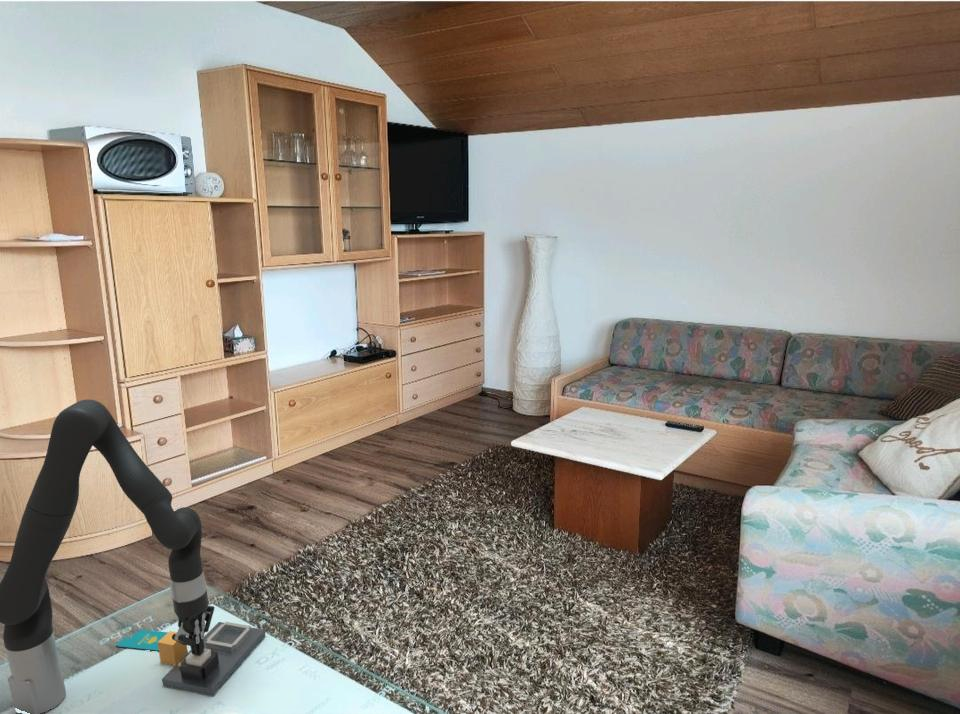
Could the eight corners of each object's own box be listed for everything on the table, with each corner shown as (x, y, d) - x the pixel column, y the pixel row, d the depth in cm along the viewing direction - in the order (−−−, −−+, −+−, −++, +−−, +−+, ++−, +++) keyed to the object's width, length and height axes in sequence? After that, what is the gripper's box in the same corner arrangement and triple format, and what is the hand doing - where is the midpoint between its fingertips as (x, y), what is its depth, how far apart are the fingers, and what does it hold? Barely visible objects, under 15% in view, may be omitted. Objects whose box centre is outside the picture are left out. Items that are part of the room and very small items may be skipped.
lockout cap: (175, 665, 166) (172, 645, 165) (160, 662, 167) (157, 642, 166) (187, 653, 171) (184, 633, 169) (173, 650, 172) (169, 630, 170)
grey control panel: (213, 696, 156) (210, 678, 155) (162, 685, 160) (160, 668, 158) (265, 636, 177) (263, 620, 175) (219, 628, 180) (217, 612, 179)
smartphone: (132, 628, 180) (183, 633, 178) (133, 630, 180) (183, 635, 178) (114, 646, 173) (166, 651, 171) (114, 648, 173) (167, 654, 171)
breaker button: (201, 674, 159) (199, 660, 158) (187, 671, 160) (185, 657, 159) (212, 663, 163) (210, 649, 162) (198, 660, 164) (196, 646, 163)
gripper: (194, 573, 164) (202, 633, 168) (155, 605, 151) (166, 669, 156) (220, 577, 162) (228, 638, 166) (184, 610, 149) (193, 675, 154)
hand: (198, 653), depth 161 cm, fingers closed
